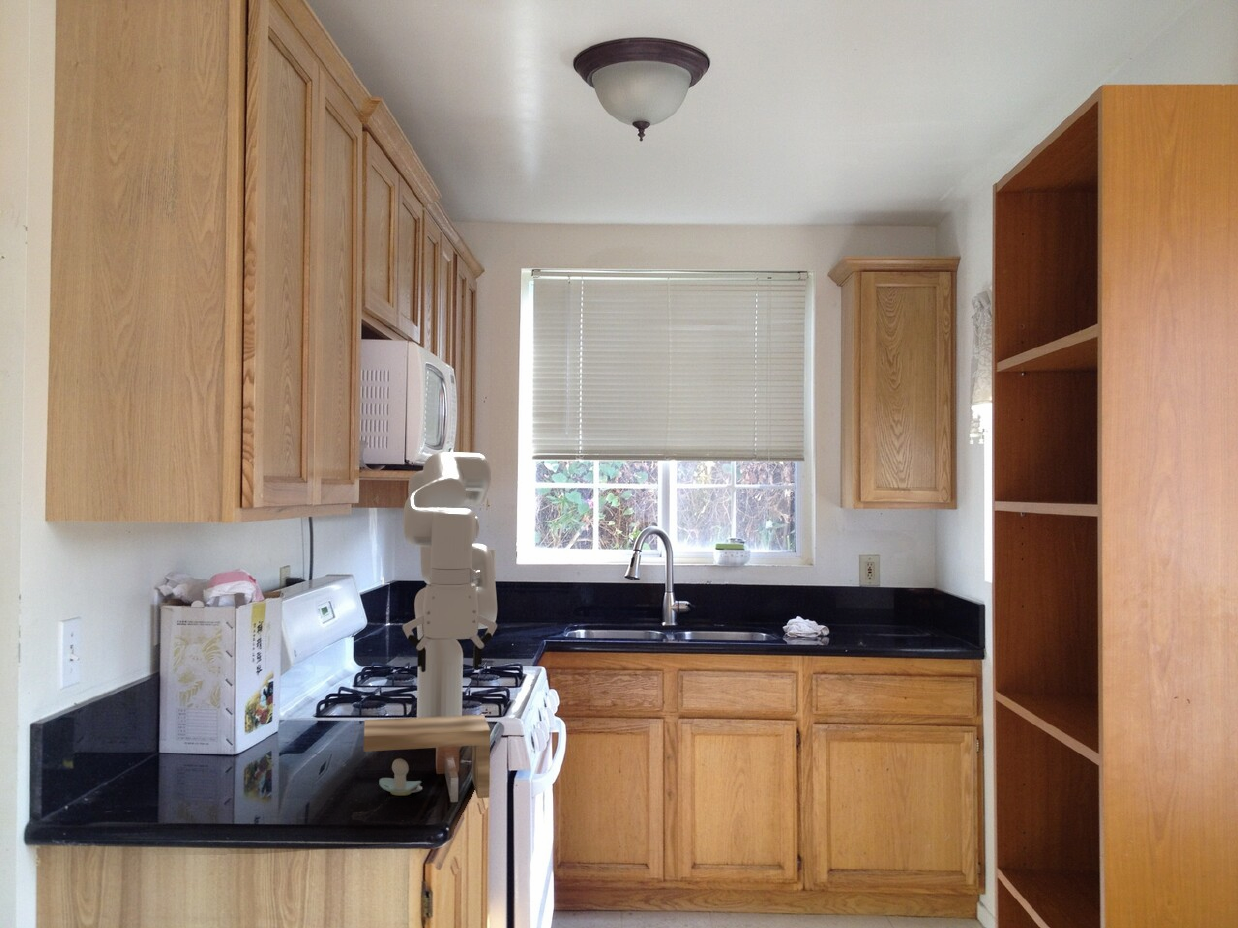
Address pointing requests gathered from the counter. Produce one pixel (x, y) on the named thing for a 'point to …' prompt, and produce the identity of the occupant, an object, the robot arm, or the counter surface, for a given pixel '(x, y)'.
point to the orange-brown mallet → (449, 768)
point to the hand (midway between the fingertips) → (449, 669)
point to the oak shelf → (436, 739)
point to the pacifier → (400, 780)
